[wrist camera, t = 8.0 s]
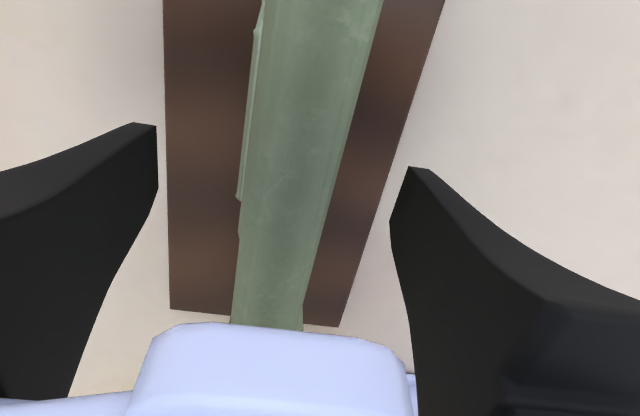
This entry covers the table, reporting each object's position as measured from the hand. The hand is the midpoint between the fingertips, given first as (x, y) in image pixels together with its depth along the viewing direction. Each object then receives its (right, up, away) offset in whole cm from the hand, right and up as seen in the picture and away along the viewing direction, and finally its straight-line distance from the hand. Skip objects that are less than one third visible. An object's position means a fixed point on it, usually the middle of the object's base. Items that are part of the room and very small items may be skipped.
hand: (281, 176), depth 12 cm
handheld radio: (0, +4, +5) cm, 6 cm away
